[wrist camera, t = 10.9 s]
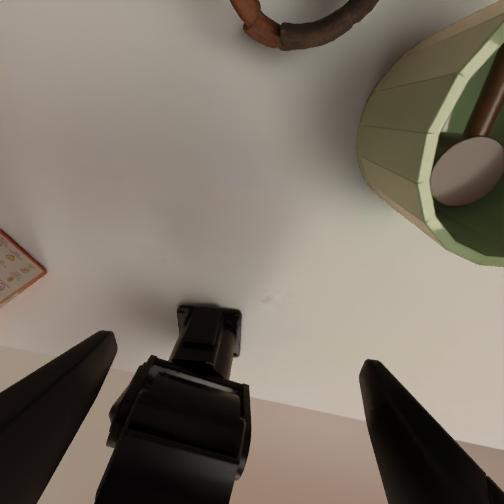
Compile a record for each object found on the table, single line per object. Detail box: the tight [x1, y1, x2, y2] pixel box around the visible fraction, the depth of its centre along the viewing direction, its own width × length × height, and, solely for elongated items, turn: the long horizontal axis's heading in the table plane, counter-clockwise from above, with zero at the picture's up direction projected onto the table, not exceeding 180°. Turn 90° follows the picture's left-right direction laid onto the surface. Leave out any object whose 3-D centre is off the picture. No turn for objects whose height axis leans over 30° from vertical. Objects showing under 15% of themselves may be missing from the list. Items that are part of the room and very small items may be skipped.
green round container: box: [357, 0, 504, 267], centre depth 13 cm, size 10×10×8 cm
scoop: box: [430, 43, 504, 207], centre depth 14 cm, size 8×4×3 cm, turn 177°
